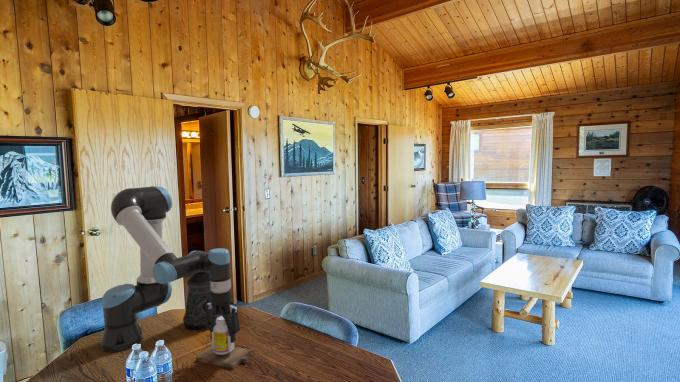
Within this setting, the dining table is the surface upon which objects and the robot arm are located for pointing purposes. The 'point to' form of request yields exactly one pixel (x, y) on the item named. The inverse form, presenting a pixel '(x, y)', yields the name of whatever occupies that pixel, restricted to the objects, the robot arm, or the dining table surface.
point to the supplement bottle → (221, 336)
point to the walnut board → (225, 357)
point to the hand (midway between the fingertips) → (223, 348)
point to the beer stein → (197, 302)
